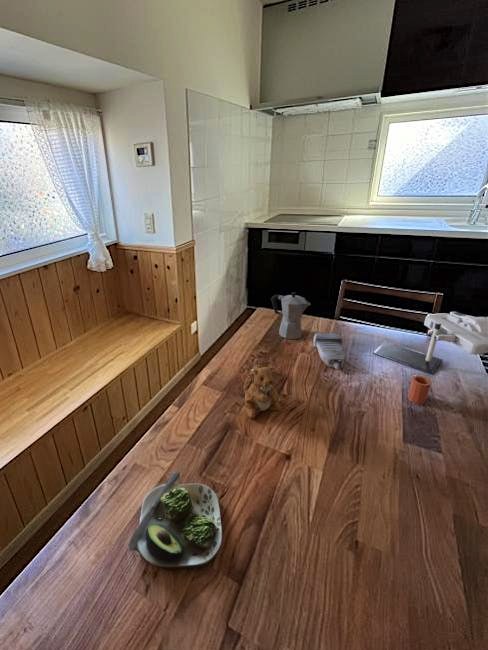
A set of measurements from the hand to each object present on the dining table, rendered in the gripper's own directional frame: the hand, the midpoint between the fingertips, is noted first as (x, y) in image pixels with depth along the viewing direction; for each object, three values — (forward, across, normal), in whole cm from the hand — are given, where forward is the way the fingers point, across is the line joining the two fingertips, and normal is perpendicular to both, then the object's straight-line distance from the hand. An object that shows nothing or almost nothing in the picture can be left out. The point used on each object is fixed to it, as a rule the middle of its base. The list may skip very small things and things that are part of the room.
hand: (432, 335), depth 107 cm
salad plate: (+85, -42, -12) cm, 96 cm away
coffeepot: (+36, +29, -12) cm, 47 cm away
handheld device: (+27, +10, -12) cm, 31 cm away
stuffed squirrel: (+59, -9, -12) cm, 61 cm away
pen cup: (+14, -15, -12) cm, 24 cm away
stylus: (-1, 0, -10) cm, 11 cm away
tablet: (+3, +5, -12) cm, 13 cm away
